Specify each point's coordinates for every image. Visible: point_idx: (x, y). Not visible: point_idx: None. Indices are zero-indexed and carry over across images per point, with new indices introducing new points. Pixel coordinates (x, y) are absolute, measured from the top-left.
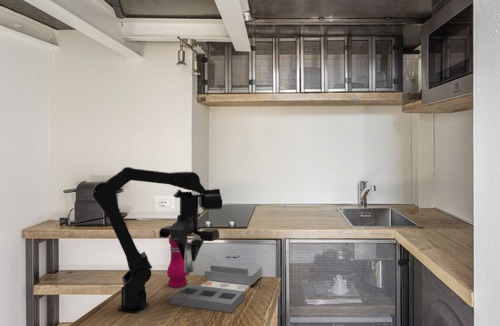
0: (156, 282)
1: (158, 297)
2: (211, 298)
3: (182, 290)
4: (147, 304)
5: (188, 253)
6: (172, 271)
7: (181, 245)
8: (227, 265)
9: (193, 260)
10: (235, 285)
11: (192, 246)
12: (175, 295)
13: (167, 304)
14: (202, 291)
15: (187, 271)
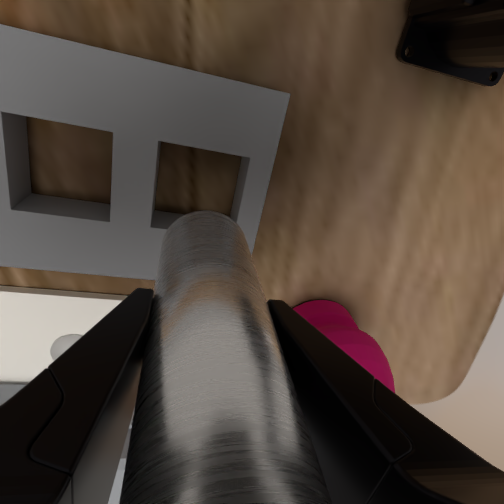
0: (407, 333)
1: (364, 175)
2: None
3: (244, 195)
4: (403, 41)
5: (200, 333)
6: (358, 350)
7: (384, 456)
8: (119, 500)
9: (137, 290)
10: (19, 365)
11: (73, 461)
12: (260, 105)
13: (294, 84)
14: (114, 199)
15: (205, 213)
